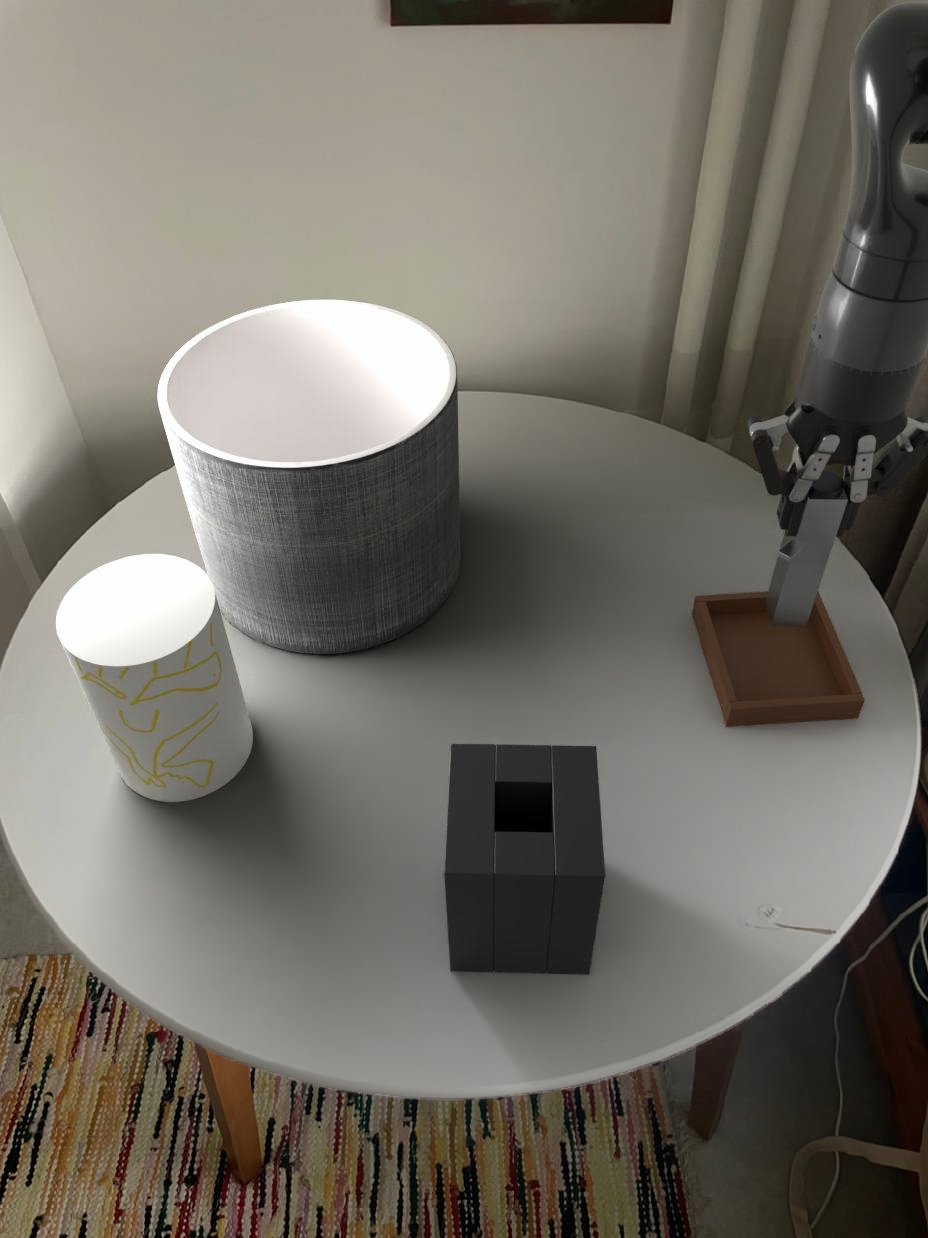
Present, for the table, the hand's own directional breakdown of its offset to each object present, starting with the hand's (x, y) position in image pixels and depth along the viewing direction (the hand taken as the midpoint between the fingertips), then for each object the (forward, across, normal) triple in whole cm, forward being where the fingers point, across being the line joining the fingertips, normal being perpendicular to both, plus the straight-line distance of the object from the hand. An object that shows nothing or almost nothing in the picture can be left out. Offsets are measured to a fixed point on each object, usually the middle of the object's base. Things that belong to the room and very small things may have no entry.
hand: (811, 528), depth 82 cm
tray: (+16, 0, 0) cm, 16 cm away
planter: (+17, -41, +13) cm, 46 cm away
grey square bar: (+10, 0, 0) cm, 10 cm away
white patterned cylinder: (+17, -52, -10) cm, 55 cm away
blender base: (+16, -23, -25) cm, 38 cm away
